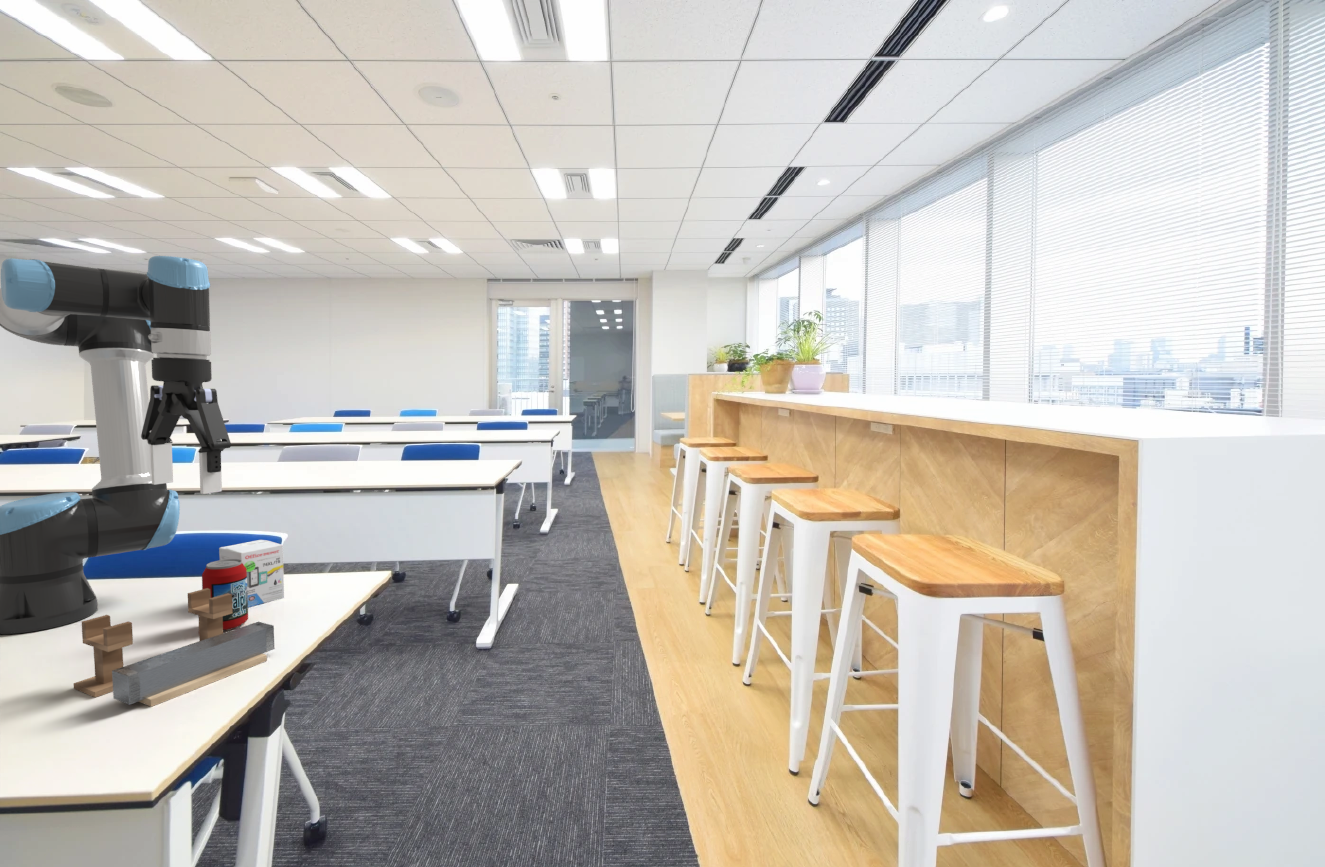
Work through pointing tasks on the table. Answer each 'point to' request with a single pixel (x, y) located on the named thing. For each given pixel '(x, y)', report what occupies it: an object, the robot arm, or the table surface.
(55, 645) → the table surface
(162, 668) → the rail
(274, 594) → the ink box
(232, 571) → the beverage can
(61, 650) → the table surface
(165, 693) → the light wooden board
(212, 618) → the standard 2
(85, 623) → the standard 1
